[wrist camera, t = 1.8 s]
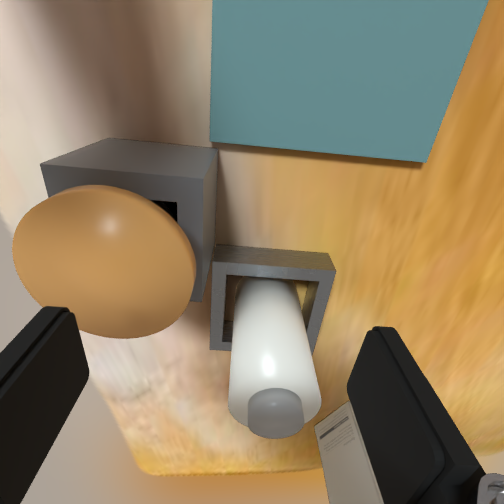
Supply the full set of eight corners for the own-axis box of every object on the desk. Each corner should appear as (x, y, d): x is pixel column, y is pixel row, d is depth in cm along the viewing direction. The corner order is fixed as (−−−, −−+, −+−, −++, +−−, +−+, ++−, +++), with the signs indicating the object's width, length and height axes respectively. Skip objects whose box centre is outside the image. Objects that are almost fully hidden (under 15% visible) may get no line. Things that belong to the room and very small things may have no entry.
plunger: (208, 167, 15) (191, 202, 10) (206, 281, 18) (192, 343, 14) (65, 154, 14) (-16, 184, 10) (90, 272, 18) (39, 333, 13)
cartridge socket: (328, 253, 23) (336, 270, 21) (307, 334, 27) (312, 355, 25) (216, 244, 22) (212, 261, 20) (212, 328, 27) (209, 349, 25)
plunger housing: (218, 148, 19) (203, 178, 13) (214, 243, 22) (201, 301, 16) (108, 137, 19) (39, 163, 13) (121, 235, 22) (73, 293, 16)
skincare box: (413, 427, 35) (470, 546, 26) (374, 451, 38) (413, 566, 29) (349, 398, 32) (388, 521, 23) (312, 425, 35) (334, 546, 26)
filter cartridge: (301, 270, 24) (336, 395, 14) (291, 318, 26) (314, 451, 17) (237, 265, 24) (229, 389, 14) (233, 314, 26) (224, 447, 17)
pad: (520, -104, 14) (531, -112, 13) (421, 160, 19) (426, 162, 19) (217, -150, 13) (216, -160, 12) (210, 139, 19) (209, 141, 18)
